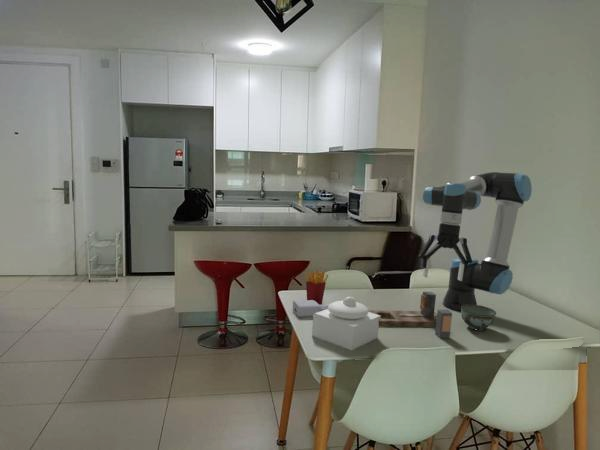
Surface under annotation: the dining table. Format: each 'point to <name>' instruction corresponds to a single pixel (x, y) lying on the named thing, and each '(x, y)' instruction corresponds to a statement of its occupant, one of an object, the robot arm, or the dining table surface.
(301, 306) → the charger
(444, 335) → the grey orange block
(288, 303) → the dining table surface
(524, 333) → the dining table surface
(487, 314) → the bowl
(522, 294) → the dining table surface
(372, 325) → the white lidded jar
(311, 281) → the french fries
